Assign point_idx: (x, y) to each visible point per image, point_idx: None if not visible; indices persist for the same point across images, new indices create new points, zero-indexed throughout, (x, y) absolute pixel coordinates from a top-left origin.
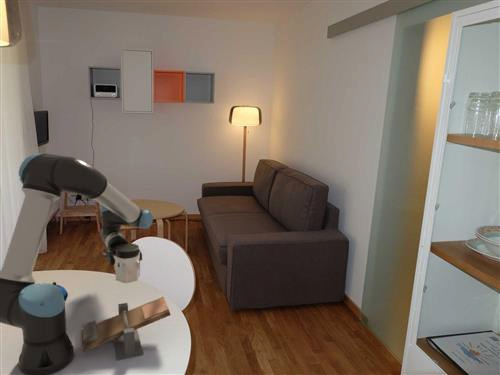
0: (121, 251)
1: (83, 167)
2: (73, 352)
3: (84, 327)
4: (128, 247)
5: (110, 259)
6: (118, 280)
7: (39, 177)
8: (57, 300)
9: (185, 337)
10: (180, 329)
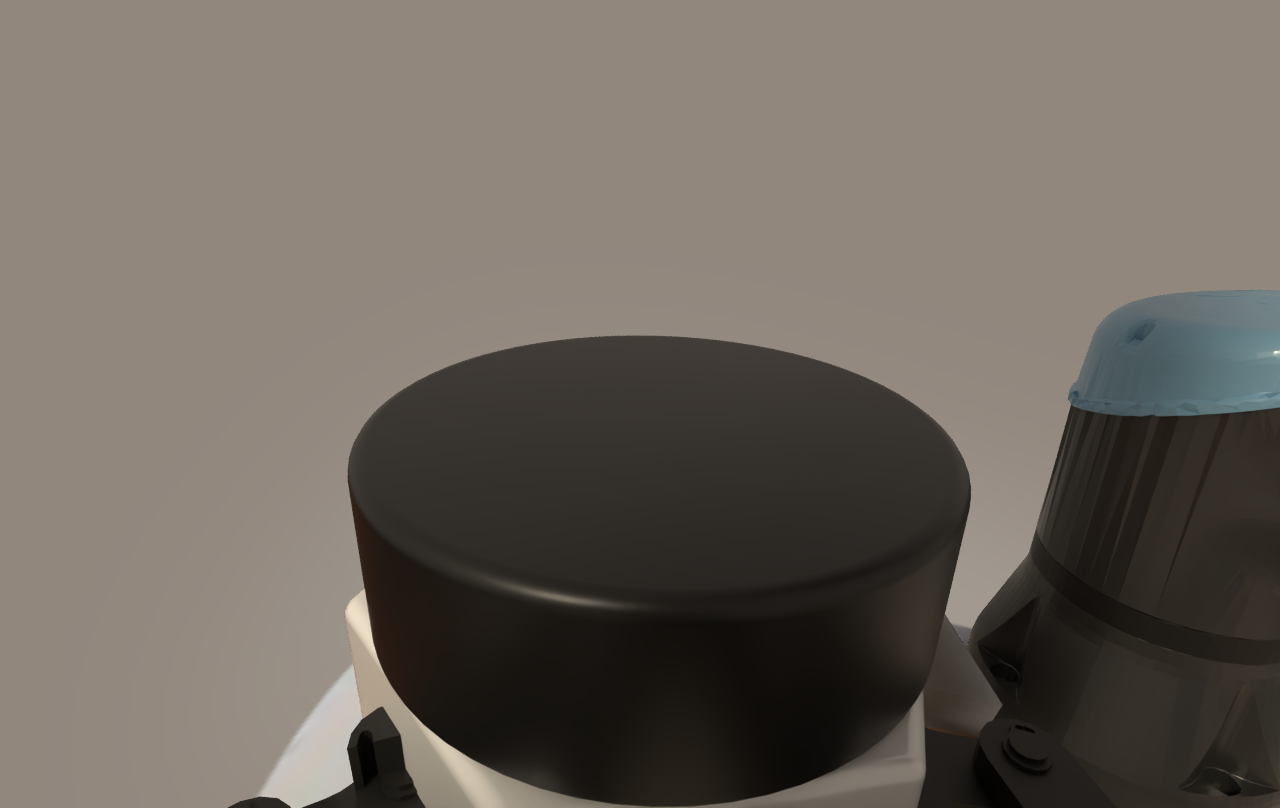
0: (780, 351)
1: None
2: None
3: (970, 670)
4: (628, 412)
5: (1054, 766)
6: None
7: None
8: (1103, 320)
9: (353, 670)
10: (325, 744)
